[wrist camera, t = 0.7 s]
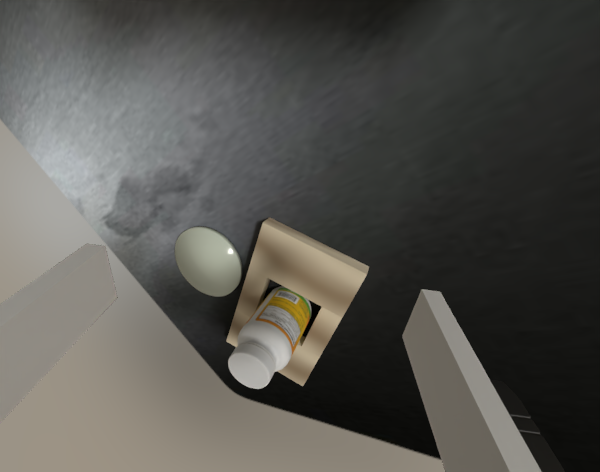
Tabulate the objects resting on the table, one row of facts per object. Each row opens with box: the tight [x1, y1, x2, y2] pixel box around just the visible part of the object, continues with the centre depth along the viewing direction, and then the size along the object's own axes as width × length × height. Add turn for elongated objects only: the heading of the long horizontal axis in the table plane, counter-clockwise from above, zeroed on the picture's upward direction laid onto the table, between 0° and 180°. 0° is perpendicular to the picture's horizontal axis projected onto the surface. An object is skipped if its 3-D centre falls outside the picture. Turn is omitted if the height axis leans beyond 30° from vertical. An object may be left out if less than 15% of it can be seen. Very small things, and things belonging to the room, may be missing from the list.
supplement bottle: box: [228, 286, 312, 389], centre depth 29 cm, size 5×5×10 cm
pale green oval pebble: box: [175, 226, 242, 297], centre depth 34 cm, size 9×9×1 cm
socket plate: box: [226, 217, 369, 386], centre depth 32 cm, size 18×11×2 cm, turn 160°
